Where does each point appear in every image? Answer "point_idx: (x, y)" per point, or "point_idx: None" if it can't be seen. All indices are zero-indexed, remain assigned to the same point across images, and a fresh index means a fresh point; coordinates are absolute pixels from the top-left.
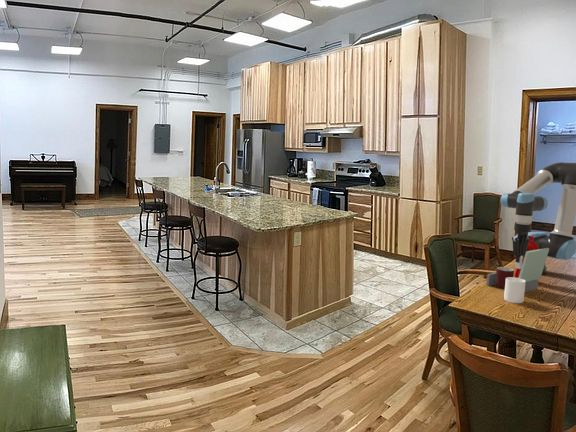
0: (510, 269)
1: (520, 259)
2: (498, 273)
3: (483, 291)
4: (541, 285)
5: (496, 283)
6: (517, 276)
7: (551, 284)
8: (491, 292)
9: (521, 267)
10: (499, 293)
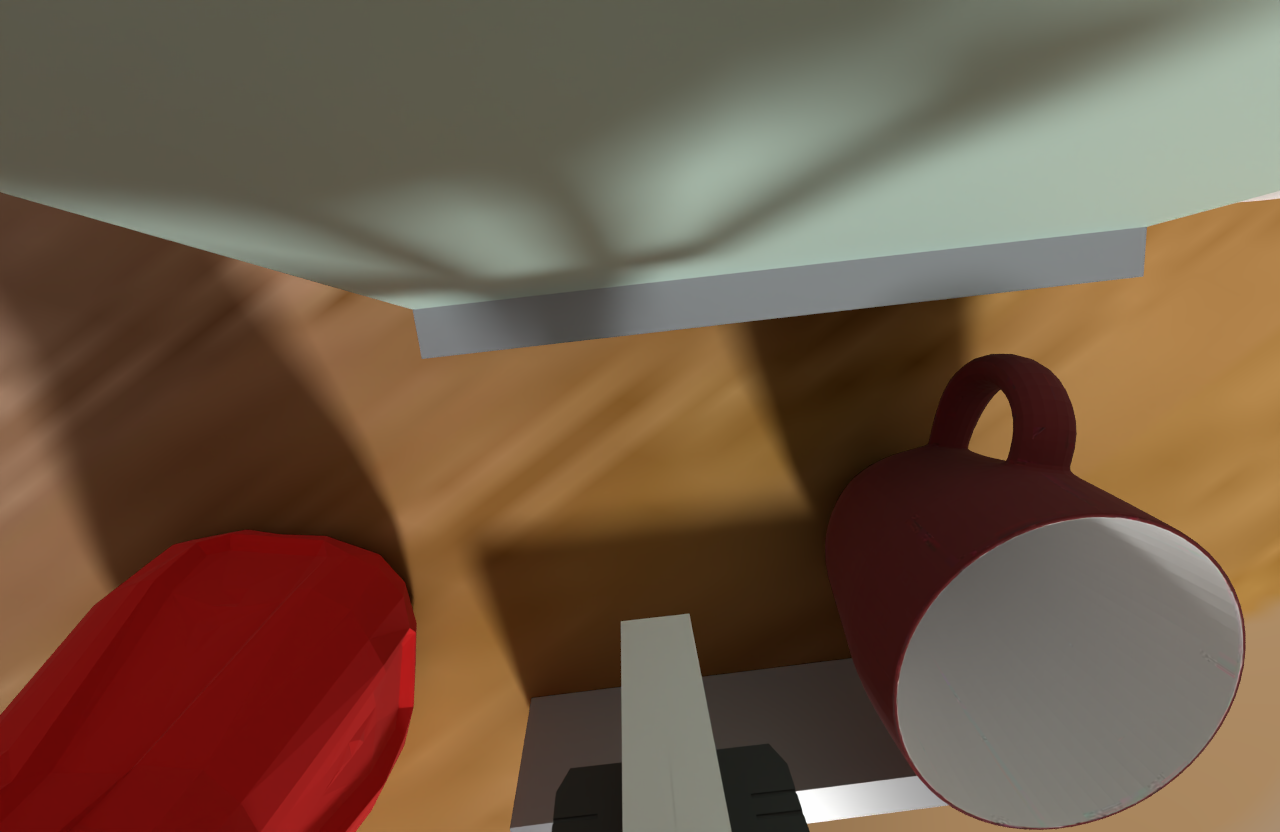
0: (887, 671)
1: (725, 801)
2: (1167, 645)
3: (1274, 496)
4: (222, 403)
5: (830, 666)
6: (390, 720)
7: (3, 382)
8: (1223, 428)
9: (625, 637)
10: (1170, 356)
